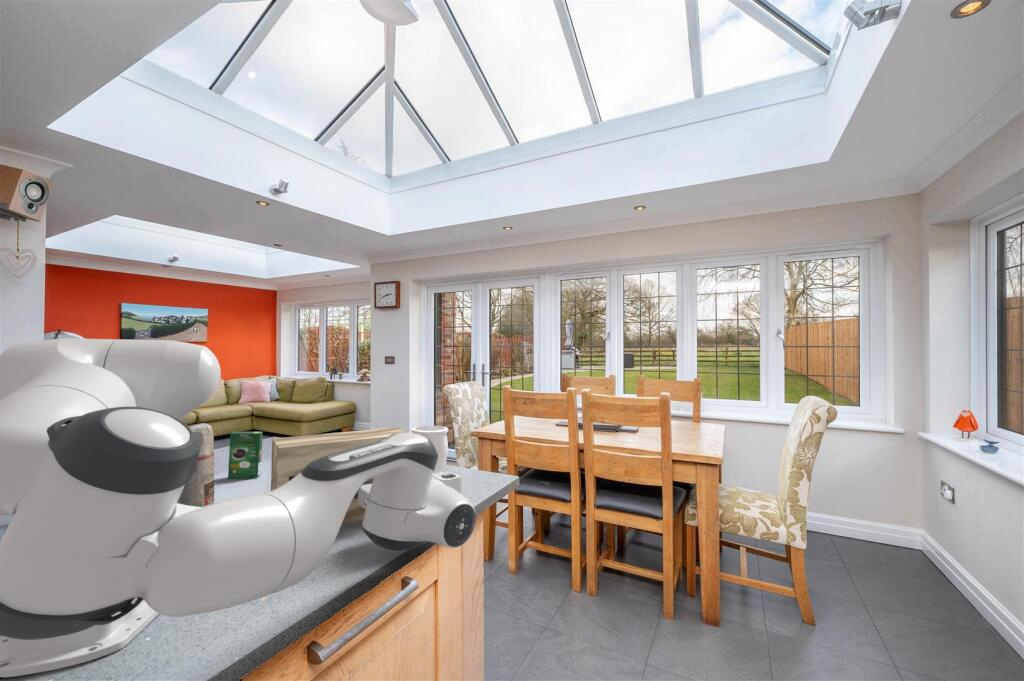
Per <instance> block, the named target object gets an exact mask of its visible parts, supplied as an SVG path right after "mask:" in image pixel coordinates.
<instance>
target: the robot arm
mask: <svg viewBox="0 0 1024 681" xmlns="http://www.w3.org/2000/svg"><path fill="white" fill-rule="evenodd" d="M221 372H222V371H221V366H220V362H219V360H218V358H217V356H216V355H215V354H214V353H213V352H212V350H210V348H208V347H207V346H206V345H201V344H195V343H190V342H184V341H179V340H172V339H171V340H170V339H127V338H126V339H122V338H121V339H116V338H114V339H112V338H110V339H109V338H71V337H70V338H69V337H68V338H54V339H53V338H51V339H43V340H41V339H40V340H34V341H27V342H26V341H25V342H20V343H19V342H18V343H15V344H12V345H11V346H9V347H8V348H6V349H5V350H4V351H3V352H2V353H0V517H1V516H13V517H12V519H11V520H10V522H9V524H8V525H7V526H8V527H7V529H6V531H5V533H4V534H3V536H2V539H1V541H0V676H4V677H3V678H11V677H12V678H13V677H20V676H26V675H32V674H39V673H45V672H49V671H53V670H59V669H63V668H66V667H72V666H76V665H79V664H83V663H86V662H90V661H93V660H96V659H99V658H101V657H105V656H107V655H110V654H112V653H114V652H117V651H120V650H121V649H123V648H124V647H125V646H127V645H128V644H129V643H130V642H131V641H132V640H133V639H134V638H135V637H137V636H138V634H139V633H141V632H142V631H143V630H144V629H145V628H147V626H148V625H149V624H150V623H151V622H152V621H154V619H155V618H156V617H157V616H158V615H162V616H166V617H172V618H175V617H176V618H177V617H179V618H180V617H188V616H193V615H194V616H195V615H202V614H205V613H211V612H216V611H222V610H226V609H228V608H230V609H231V608H234V607H237V606H240V605H244V604H247V603H250V602H253V601H257V600H260V599H262V598H265V597H268V596H270V595H273V594H275V593H278V592H281V591H283V590H286V589H288V588H290V587H293V586H294V585H297V584H298V583H300V582H301V581H303V580H304V579H305V578H307V577H308V576H310V575H311V574H312V573H314V571H316V570H317V569H318V568H319V567H320V566H321V565H322V563H323V562H324V561H325V559H326V558H327V556H329V554H330V552H331V550H332V548H333V546H334V543H335V541H336V539H337V536H338V534H339V531H340V529H341V527H342V525H341V524H342V522H343V519H344V517H345V514H346V512H347V510H348V508H349V506H350V504H351V502H352V500H353V498H354V496H355V494H356V493H357V491H358V503H359V505H360V506H362V507H363V508H365V509H366V510H365V514H364V519H363V520H362V524H361V527H362V530H363V532H364V534H365V535H366V536H367V538H369V540H371V541H372V542H373V543H374V544H375V545H376V546H378V547H380V548H382V549H385V550H389V551H394V552H395V551H396V552H402V551H409V550H413V549H416V548H418V547H421V546H423V545H426V543H429V542H430V543H434V544H436V545H437V544H438V545H440V546H442V547H445V548H453V549H454V548H455V549H456V548H460V547H461V546H463V545H464V544H465V543H466V542H467V541H468V540H469V539H470V537H471V536H472V535H473V532H474V529H475V525H476V520H477V513H476V510H475V507H474V505H473V504H472V502H471V501H470V500H469V499H468V498H467V497H466V496H465V495H463V494H462V492H463V491H462V490H463V488H462V485H463V484H462V476H461V475H460V474H459V473H458V474H457V473H455V472H452V471H443V472H438V473H433V472H434V469H435V466H436V463H437V460H438V453H437V451H436V449H435V447H434V445H433V443H432V442H431V440H430V439H429V438H427V437H424V436H422V435H419V434H415V433H412V432H409V433H399V434H393V435H390V436H388V437H386V438H385V439H383V440H380V441H377V442H374V443H370V444H366V445H363V446H359V447H355V448H351V449H348V450H344V451H340V452H337V453H334V454H330V455H327V456H324V457H321V458H319V459H316V460H314V461H312V462H310V463H309V464H308V465H307V466H306V467H305V468H304V469H303V470H302V471H301V473H299V474H298V475H297V476H296V477H294V478H293V479H292V480H290V481H289V482H287V483H286V484H284V485H282V486H281V487H279V488H277V489H275V490H273V491H271V490H270V491H269V492H265V493H260V494H253V495H247V496H246V495H245V496H240V497H236V498H232V499H228V500H223V501H220V502H216V503H215V502H214V504H212V505H209V506H205V507H195V506H188V505H183V504H179V503H177V502H178V500H179V498H180V495H181V493H182V491H183V488H184V486H185V484H186V483H188V482H189V481H190V479H191V478H192V476H193V473H194V470H195V468H196V464H197V461H198V457H199V453H200V442H199V440H198V438H197V437H196V435H195V434H194V433H193V431H192V430H191V428H190V427H191V426H189V425H188V424H187V423H185V422H184V421H183V420H184V419H185V418H186V417H187V416H188V415H189V414H190V413H192V412H193V411H194V410H196V409H197V408H199V407H200V406H202V405H204V404H205V403H206V402H208V400H210V399H211V398H212V397H213V395H214V394H215V393H216V391H217V389H218V387H219V384H220V383H221V376H222V373H221ZM371 478H373V482H372V484H366V485H362V484H363V483H364V482H365V481H367V480H368V479H371Z"/></svg>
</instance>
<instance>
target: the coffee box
mask: <svg viewBox="0 0 1024 681" xmlns="http://www.w3.org/2000/svg"><path fill="white" fill-rule="evenodd" d="M262 450H263V431H232V432H230V437H229V449H228V452H229V453H228V455H229V456H228V468H227V469H228V470H227V471H228V472H227V473H228V474H227V475H228V476H227V479H235V478H236V479H248V478H249V479H255V478H254V477H258V478H259V477H260V476H261V470H262V469H261V468H262V453H263V452H262Z"/></svg>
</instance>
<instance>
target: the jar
mask: <svg viewBox="0 0 1024 681" xmlns="http://www.w3.org/2000/svg"><path fill="white" fill-rule="evenodd" d="M448 432H449V427H446V426H442V425H419V426H416V427H412V428H411V433H415V434H419V435H422V436H424V437H427V438H429V439H430V440H431V442H432V443H433V445H434V447H435V449H436V451H437V453H438V460H437V463H436V466H435V469H434V472H433V473H438V472H444V470H445V469H446V464H447V458H448V453H449V452H448V451H449V445H448V444H449V443H448V436H447V433H448Z"/></svg>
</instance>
